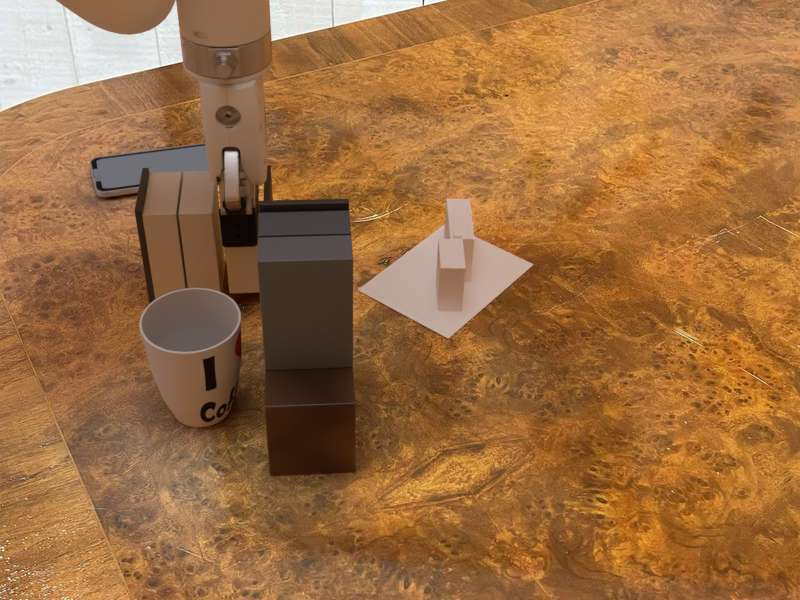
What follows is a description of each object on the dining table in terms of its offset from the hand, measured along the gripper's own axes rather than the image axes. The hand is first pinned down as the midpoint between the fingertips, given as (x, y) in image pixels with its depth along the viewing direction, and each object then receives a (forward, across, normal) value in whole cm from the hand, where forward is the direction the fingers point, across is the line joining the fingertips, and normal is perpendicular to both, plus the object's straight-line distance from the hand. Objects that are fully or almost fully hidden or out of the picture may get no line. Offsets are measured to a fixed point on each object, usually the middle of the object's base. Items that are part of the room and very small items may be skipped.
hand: (241, 219), depth 101 cm
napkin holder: (+8, 0, -20) cm, 22 cm away
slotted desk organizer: (+8, 0, +3) cm, 8 cm away
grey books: (0, -17, -6) cm, 18 cm away
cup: (+8, -17, +3) cm, 19 cm away
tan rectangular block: (+6, 0, 0) cm, 6 cm away
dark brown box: (+8, -19, -6) cm, 21 cm away
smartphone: (+8, +20, +10) cm, 24 cm away
